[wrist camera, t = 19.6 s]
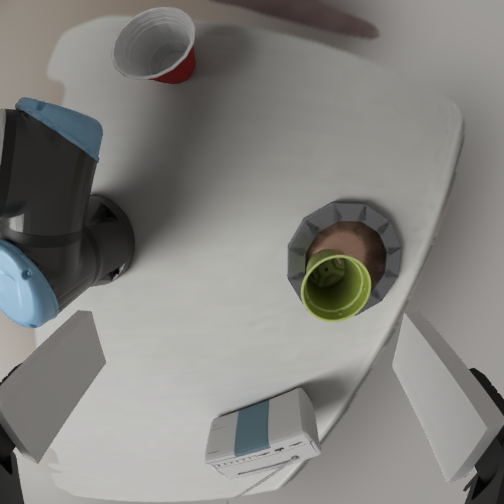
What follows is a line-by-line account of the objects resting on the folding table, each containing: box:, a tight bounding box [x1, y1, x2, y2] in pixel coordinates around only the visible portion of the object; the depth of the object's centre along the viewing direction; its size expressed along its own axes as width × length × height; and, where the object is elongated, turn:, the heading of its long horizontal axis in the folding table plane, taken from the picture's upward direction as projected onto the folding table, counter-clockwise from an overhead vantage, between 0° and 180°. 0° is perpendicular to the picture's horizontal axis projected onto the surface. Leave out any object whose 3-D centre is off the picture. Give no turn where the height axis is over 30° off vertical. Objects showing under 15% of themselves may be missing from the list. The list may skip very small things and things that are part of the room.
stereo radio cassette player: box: [205, 388, 321, 504], centre depth 47 cm, size 21×8×20 cm, turn 121°
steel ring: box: [287, 202, 402, 315], centre depth 46 cm, size 18×18×2 cm
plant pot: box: [301, 250, 371, 322], centre depth 42 cm, size 9×9×9 cm
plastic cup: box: [111, 7, 195, 84], centre depth 33 cm, size 11×11×12 cm
